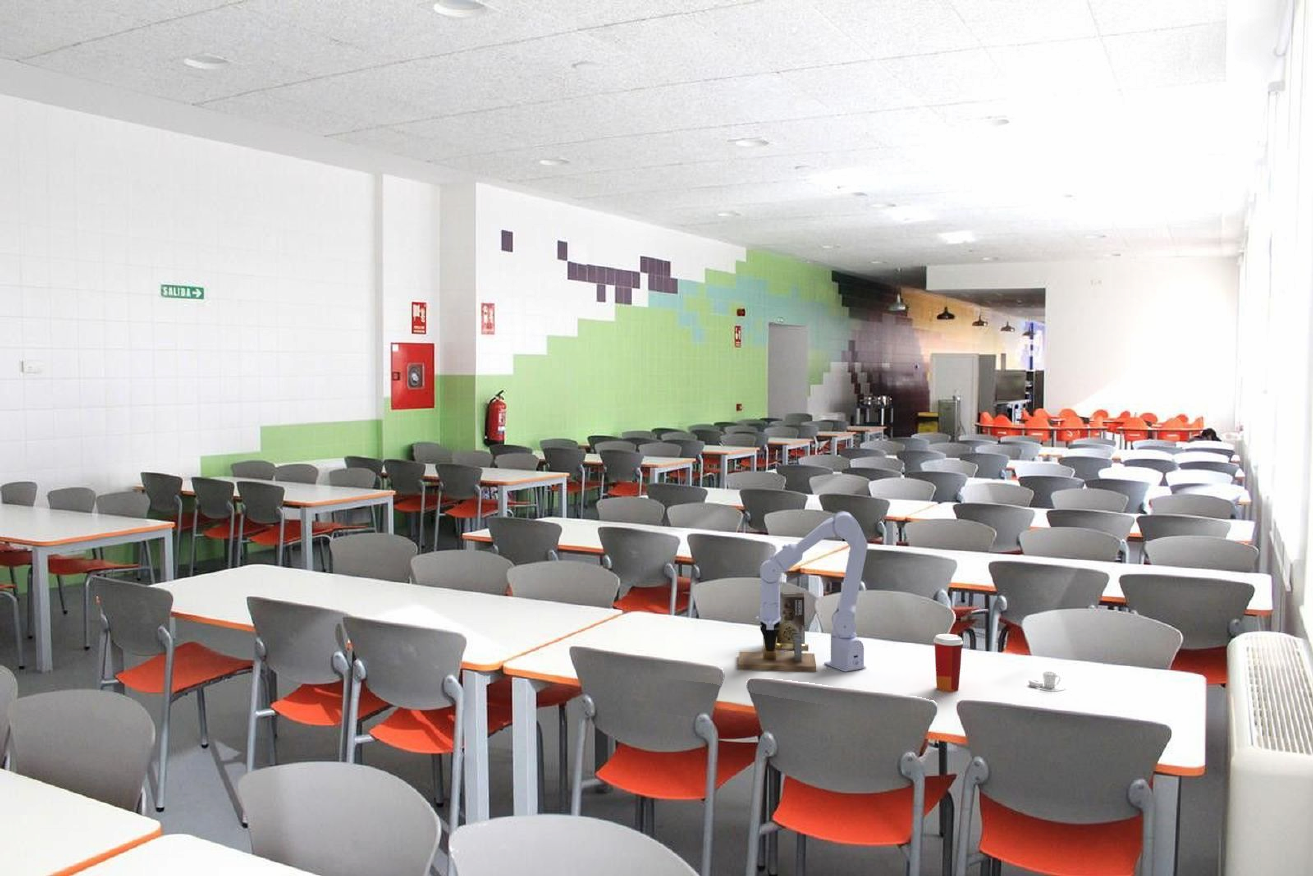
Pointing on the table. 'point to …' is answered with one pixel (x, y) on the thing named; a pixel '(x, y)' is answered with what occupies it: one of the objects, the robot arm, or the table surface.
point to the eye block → (779, 660)
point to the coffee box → (791, 617)
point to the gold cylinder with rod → (780, 647)
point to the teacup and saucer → (1047, 681)
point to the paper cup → (948, 661)
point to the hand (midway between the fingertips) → (769, 648)
